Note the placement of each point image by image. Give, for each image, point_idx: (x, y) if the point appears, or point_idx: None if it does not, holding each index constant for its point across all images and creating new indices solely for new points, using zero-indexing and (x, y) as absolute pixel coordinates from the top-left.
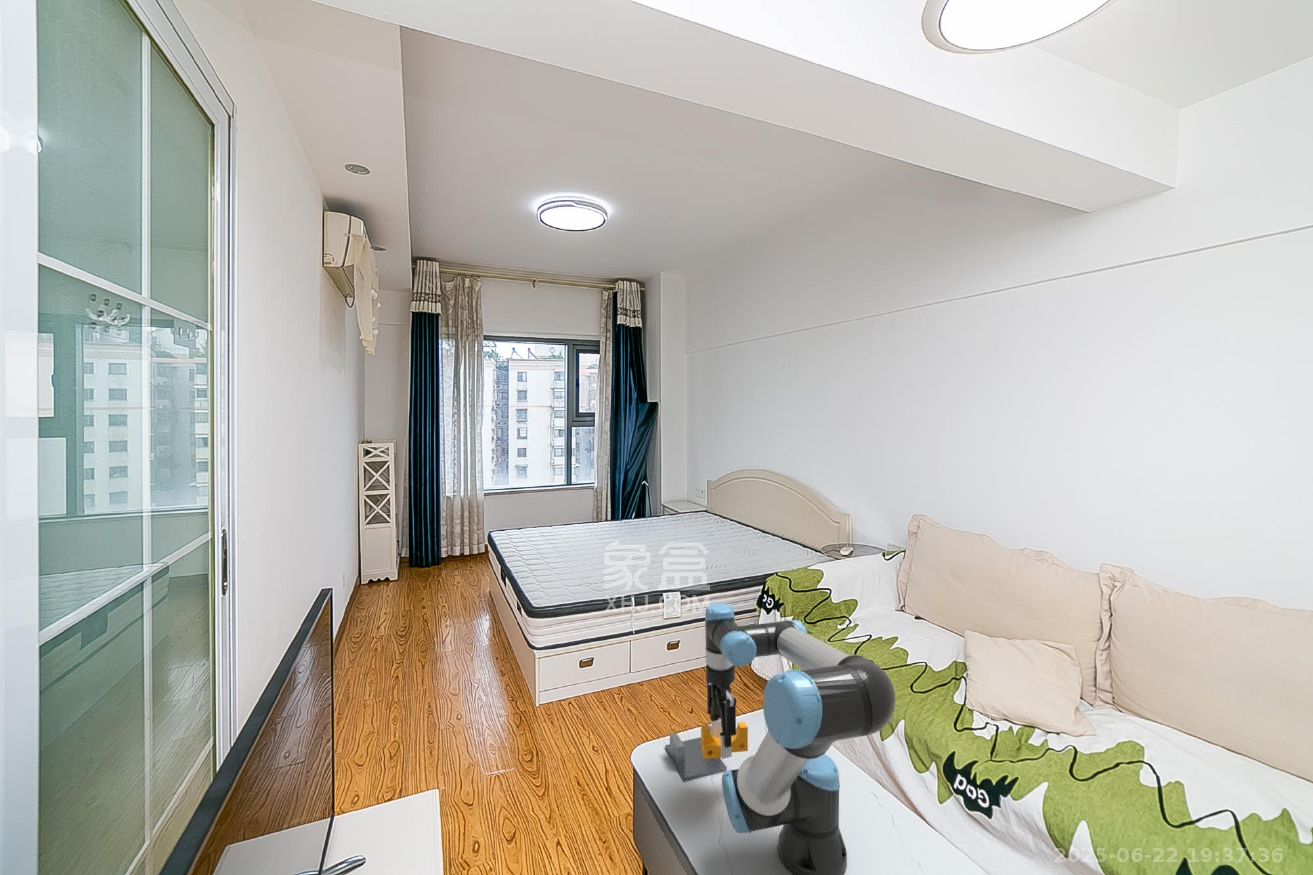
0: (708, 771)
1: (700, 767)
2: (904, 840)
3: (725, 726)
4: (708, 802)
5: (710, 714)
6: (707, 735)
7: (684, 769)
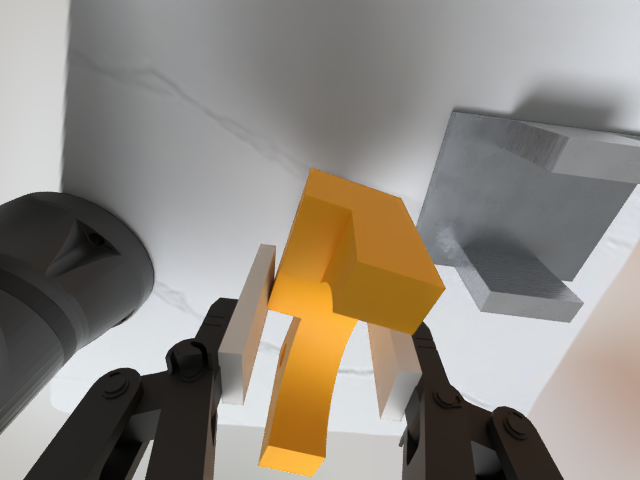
0: (428, 206)
1: (461, 194)
2: None
3: (87, 461)
4: (321, 136)
5: (465, 423)
6: (342, 266)
7: (492, 138)
